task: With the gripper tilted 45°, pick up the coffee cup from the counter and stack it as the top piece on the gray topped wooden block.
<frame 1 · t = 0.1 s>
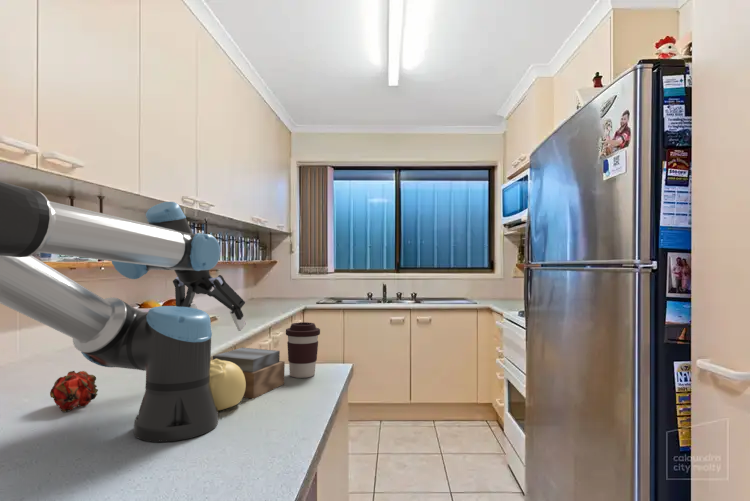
hand: (221, 326, 119), 15 cm above the counter, tool tilted 35°, fingers open, 13 cm apart
gray topped wooden block: (246, 387, 115), on the counter
coffee cup: (302, 375, 128), on the counter
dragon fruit: (74, 408, 98), on the counter
pale yellow round lump: (217, 407, 99), on the counter
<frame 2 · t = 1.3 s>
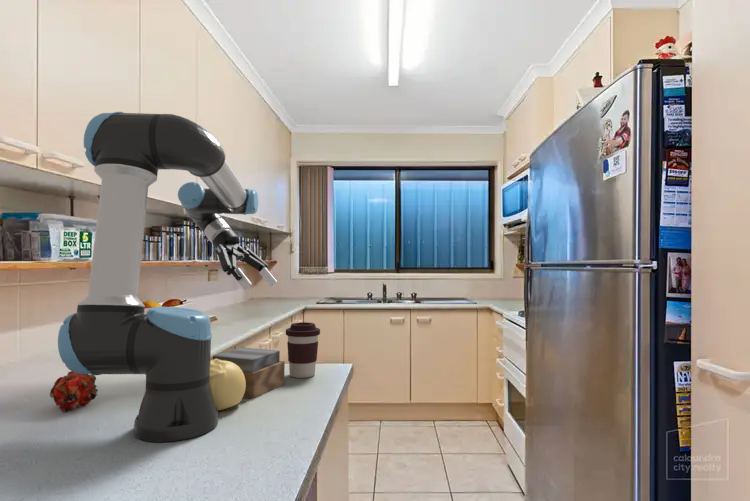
hand: (262, 285, 134), 26 cm above the counter, tool tilted 45°, fingers open, 13 cm apart
nothing on the counter moved.
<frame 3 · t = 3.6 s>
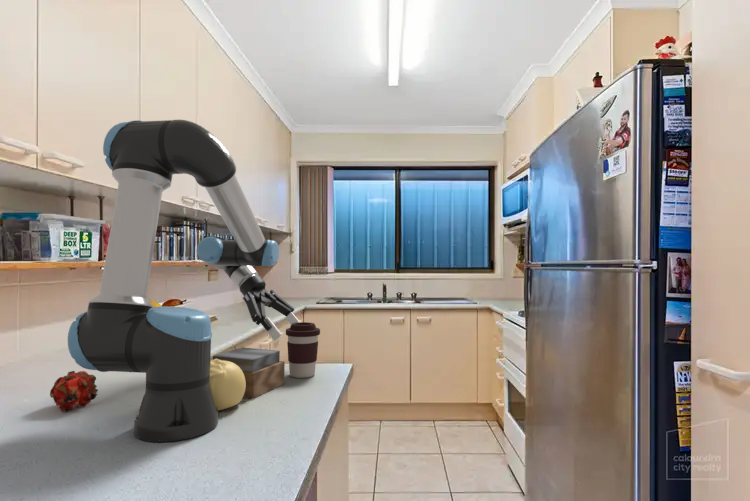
hand: (290, 334, 131), 11 cm above the counter, tool tilted 45°, fingers open, 13 cm apart
nothing on the counter moved.
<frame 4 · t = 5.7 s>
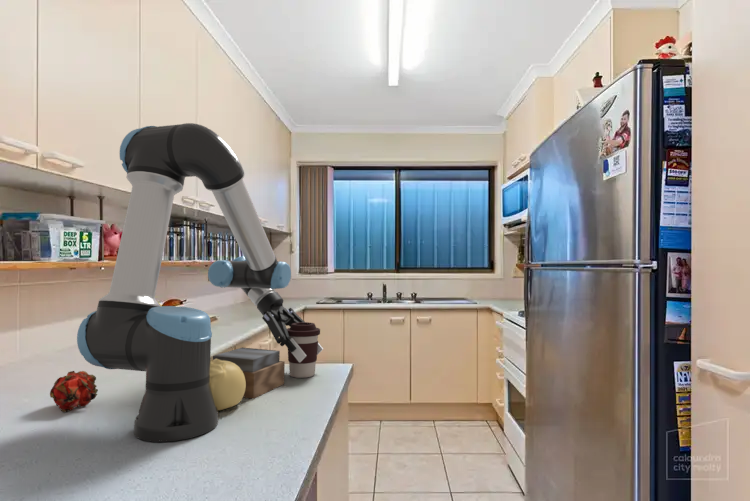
hand: (311, 355, 127), 6 cm above the counter, tool tilted 45°, fingers closed on coffee cup, 10 cm apart
coffee cup: (302, 375, 128), on the counter, touching gripper
everything else where it was.
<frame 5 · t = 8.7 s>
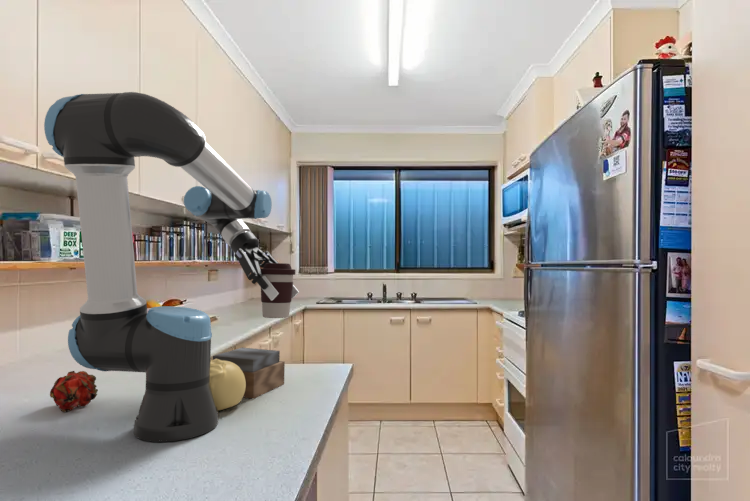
hand: (285, 296, 122), 24 cm above the counter, tool tilted 45°, fingers closed on coffee cup, 10 cm apart
coffee cup: (275, 317, 122), point 17 cm above the counter, touching gripper
everything else where it was.
when the fingers open (16 cm above the counter, at t = 11.6 s): coffee cup drops 1 cm, resting on gray topped wooden block.
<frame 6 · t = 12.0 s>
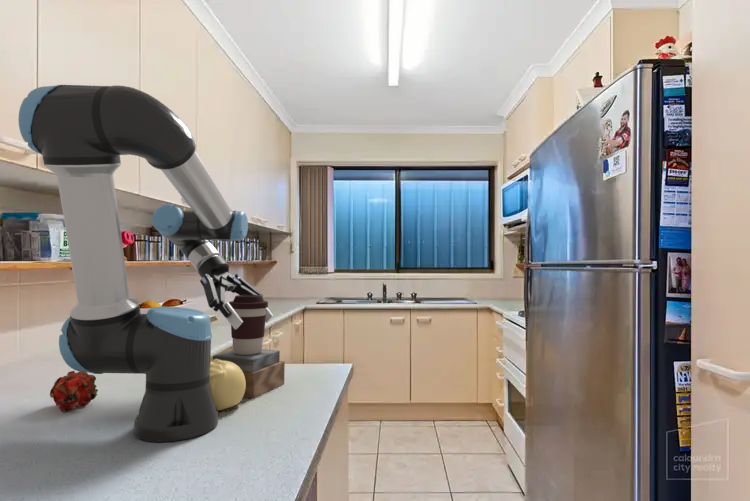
hand: (255, 322, 114), 17 cm above the counter, tool tilted 45°, fingers open, 13 cm apart
coffee cup: (247, 353, 115), point 9 cm above the counter, touching gray topped wooden block
everything else where it was.
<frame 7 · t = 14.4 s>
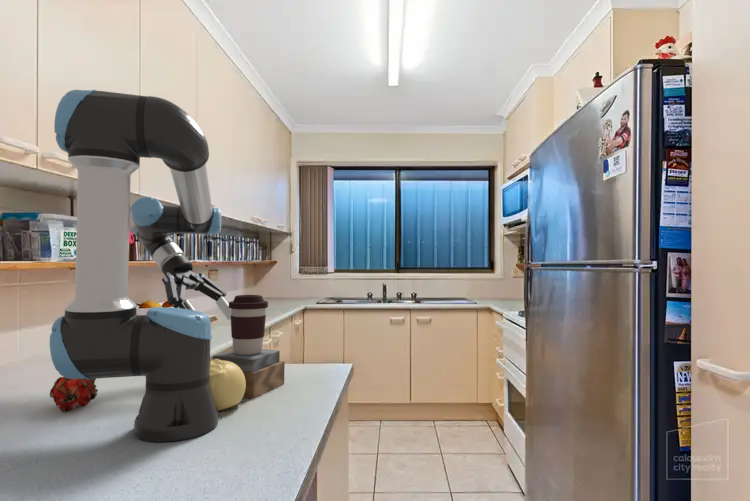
hand: (215, 319, 119), 17 cm above the counter, tool tilted 45°, fingers open, 13 cm apart
nothing on the counter moved.
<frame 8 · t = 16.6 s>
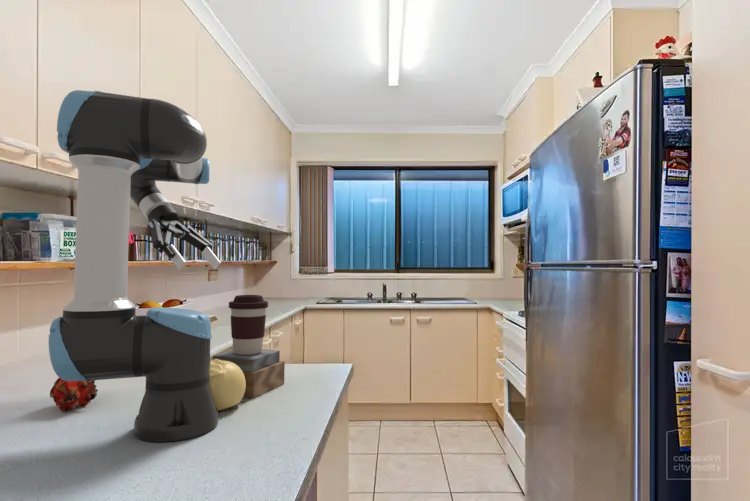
hand: (200, 265, 121), 32 cm above the counter, tool tilted 45°, fingers open, 13 cm apart
nothing on the counter moved.
at the end: coffee cup inside the target area on the gray topped wooden block (0.3 cm from its centre), point 8.8 cm above the gray topped wooden block's base; coffee cup tilted 0°; the gripper is holding nothing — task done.
